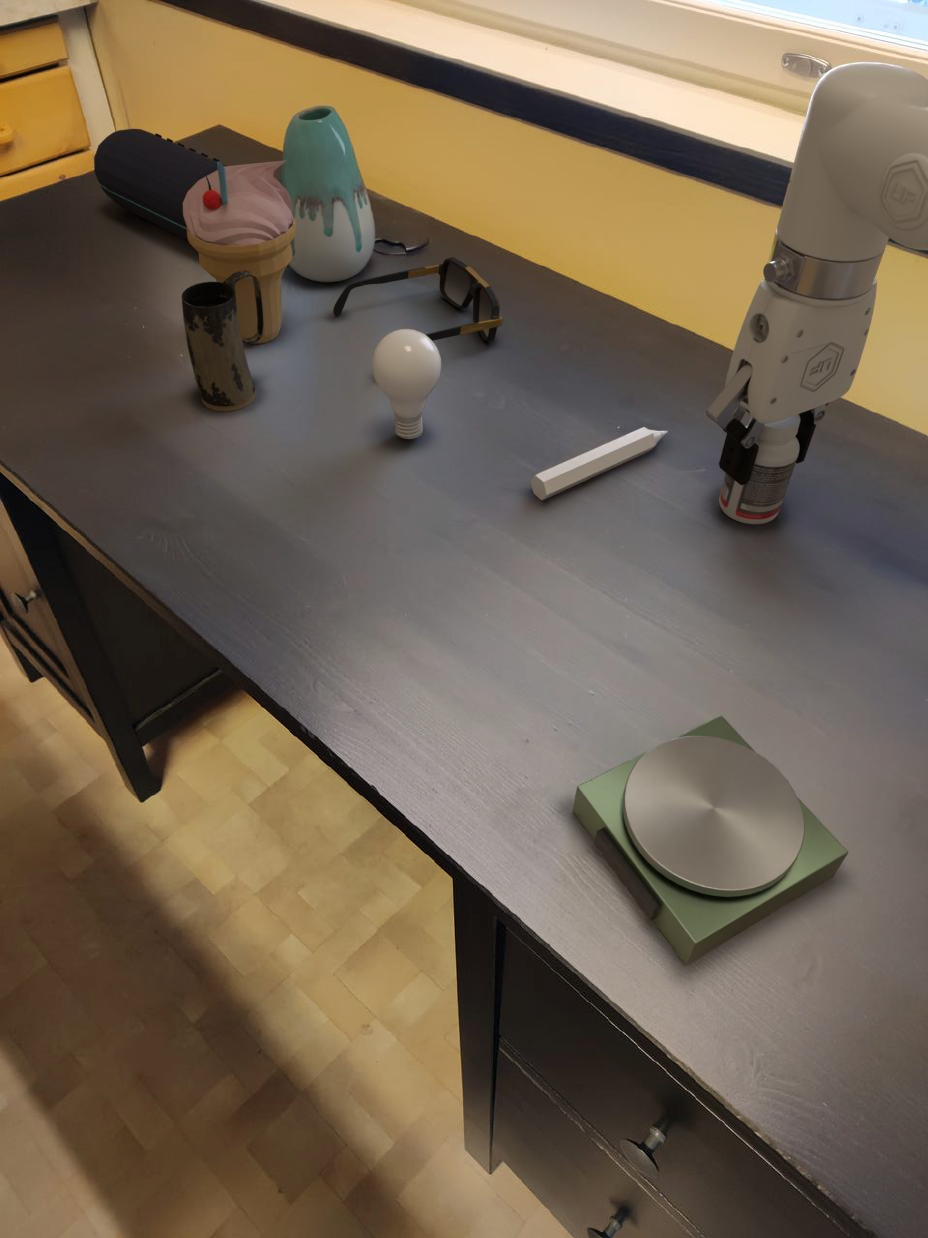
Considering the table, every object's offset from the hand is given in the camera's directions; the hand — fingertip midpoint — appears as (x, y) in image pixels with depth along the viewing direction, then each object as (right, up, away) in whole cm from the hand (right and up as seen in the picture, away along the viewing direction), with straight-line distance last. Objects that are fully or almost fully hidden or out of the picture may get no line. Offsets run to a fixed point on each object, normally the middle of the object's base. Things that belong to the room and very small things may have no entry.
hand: (761, 463), depth 80 cm
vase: (-42, +29, +33) cm, 61 cm away
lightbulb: (-31, +4, +10) cm, 33 cm away
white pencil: (-12, +1, +7) cm, 15 cm away
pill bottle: (0, -3, +4) cm, 5 cm away
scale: (-10, -28, -20) cm, 36 cm away
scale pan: (-10, -26, -22) cm, 35 cm away
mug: (-49, +10, +15) cm, 52 cm away
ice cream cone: (-48, +18, +23) cm, 57 cm away
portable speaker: (-62, +37, +41) cm, 83 cm away
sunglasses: (-31, +19, +24) cm, 43 cm away
